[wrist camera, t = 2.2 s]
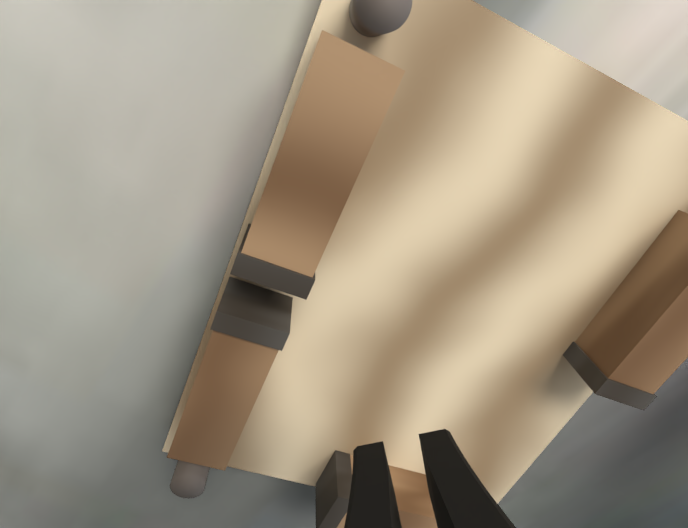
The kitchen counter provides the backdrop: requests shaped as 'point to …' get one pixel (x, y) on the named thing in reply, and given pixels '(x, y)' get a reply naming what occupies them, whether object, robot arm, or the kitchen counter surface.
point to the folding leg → (316, 165)
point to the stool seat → (454, 271)
